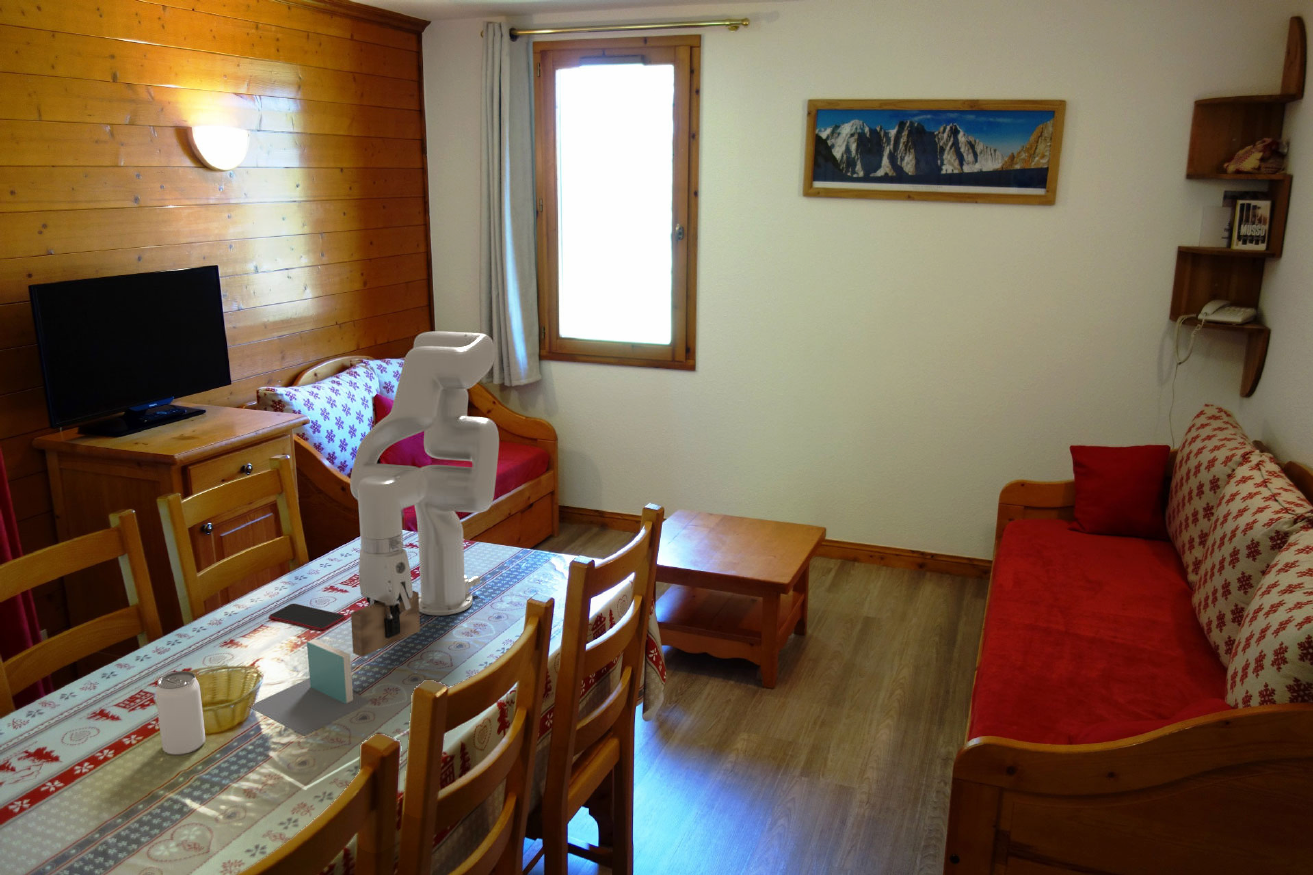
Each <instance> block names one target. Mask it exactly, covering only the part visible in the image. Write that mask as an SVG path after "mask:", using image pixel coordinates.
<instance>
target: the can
mask: <svg viewBox="0 0 1313 875" xmlns="http://www.w3.org/2000/svg"><path fill="white" fill-rule="evenodd" d="M156 684H157V687H156V689H155V701H156V709H157V717H158V725H159V732H160V739H161V741H160V742H161V746H162V750H163V751H164V752H165V753H166V754H168V755H170V756H171V755H172V756H181V755H182V756H183V755H187V754H188V755H189V754H191V753H192V752H193V753H194V752H195V751H196V750H197V751H198V750H199V749H201V747H202V746H203V744H205V742H206V731H205V722H204V712H203V702H202V697H201V695H202V694H201V687H200V683H199V681H198V680H197V678H196V673H194V672H192V671H189V670H188V671H187V670H183V671H174V672H170V673H168V674H165V675H163V676H161V677H160V678H159V679H158V680H157V683H156Z"/></svg>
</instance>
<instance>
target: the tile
mask: <svg viewBox="0 0 1313 875" xmlns="http://www.w3.org/2000/svg"><path fill="white" fill-rule="evenodd" d="M306 650H307V651H306V652H307V661H308V674H309V675H308V676H309V678H310V687H312V688H314V689H316V690H318V691H320V692H322V693H324V694H326V695H328V696H330V697H333V698H335V699H337V700H339V701H341V702H343V703H345V704H346V703H348V702H350V701H352V700H353V693H354V692H353V680H352V664H351V654H350V653H348V652H345V651H343V650H341V649H338V648H336V647H334V646H331V645H330V644H328V643H324V642H322V641H320V640H318V639H315V638H314V639H311V640H309V641H306Z"/></svg>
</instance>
